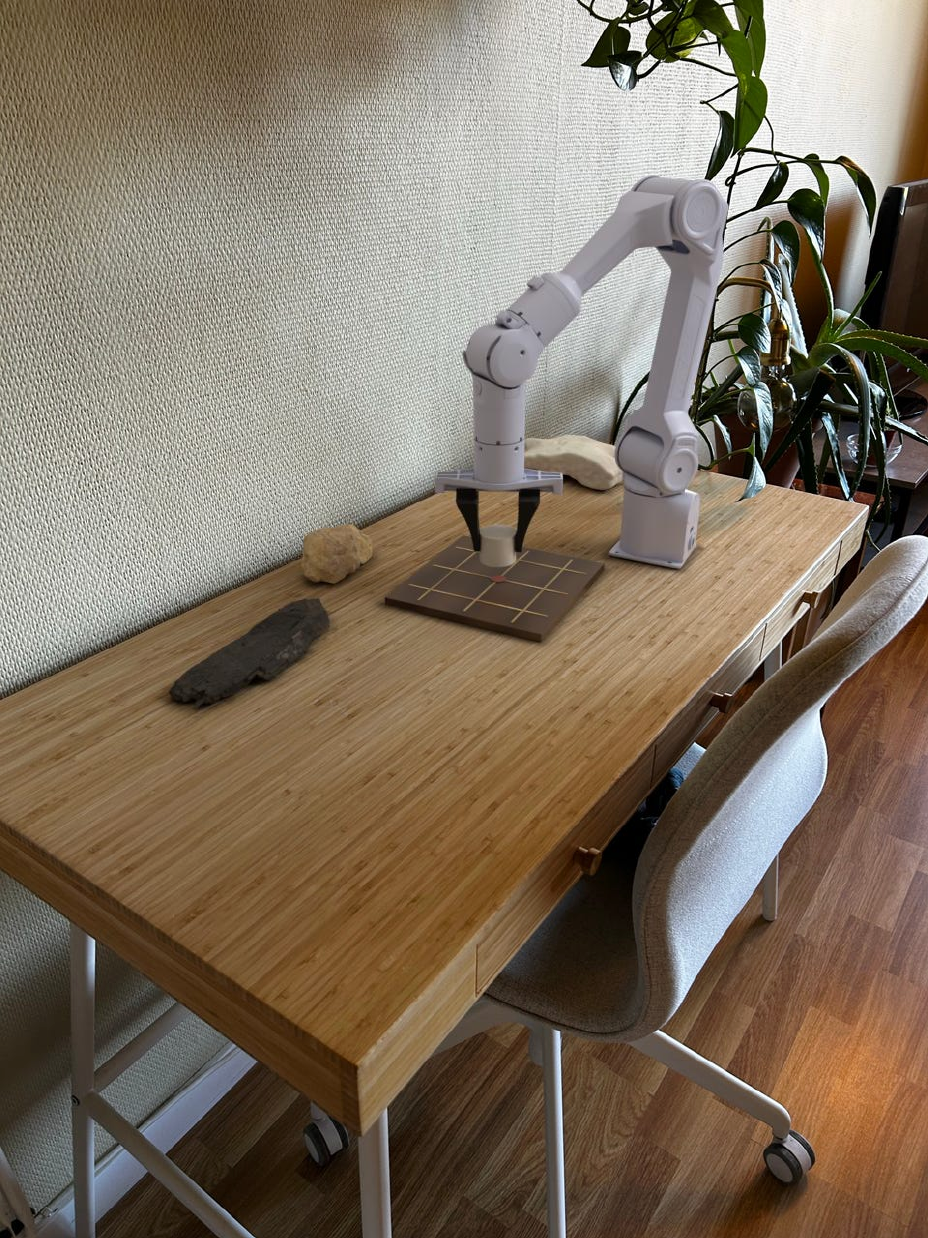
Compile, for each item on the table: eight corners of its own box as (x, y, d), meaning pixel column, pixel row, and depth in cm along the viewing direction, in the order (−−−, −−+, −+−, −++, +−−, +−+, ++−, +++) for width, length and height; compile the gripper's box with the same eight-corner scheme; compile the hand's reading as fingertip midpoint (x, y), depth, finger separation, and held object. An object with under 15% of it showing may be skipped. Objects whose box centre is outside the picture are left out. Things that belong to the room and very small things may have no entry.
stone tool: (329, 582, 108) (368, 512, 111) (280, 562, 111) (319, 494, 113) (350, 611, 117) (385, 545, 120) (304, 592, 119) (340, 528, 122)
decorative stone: (650, 438, 146) (615, 461, 135) (647, 469, 148) (612, 494, 137) (531, 421, 156) (488, 440, 144) (530, 450, 158) (487, 471, 147)
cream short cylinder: (516, 551, 111) (516, 524, 109) (516, 567, 107) (516, 539, 105) (480, 551, 111) (480, 524, 109) (478, 567, 107) (478, 538, 106)
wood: (219, 722, 87) (214, 695, 85) (163, 700, 90) (158, 674, 89) (357, 623, 104) (355, 599, 102) (306, 608, 107) (303, 585, 105)
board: (604, 570, 115) (604, 562, 114) (541, 642, 99) (541, 633, 99) (463, 541, 123) (463, 534, 122) (384, 604, 107) (384, 596, 107)
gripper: (562, 427, 105) (558, 535, 112) (437, 426, 106) (440, 534, 112) (565, 446, 99) (560, 560, 105) (431, 445, 100) (435, 558, 106)
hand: (498, 548), depth 108 cm, fingers closed on cream short cylinder, 4 cm apart
